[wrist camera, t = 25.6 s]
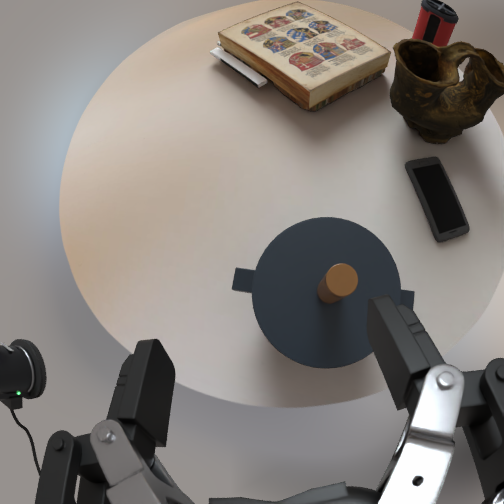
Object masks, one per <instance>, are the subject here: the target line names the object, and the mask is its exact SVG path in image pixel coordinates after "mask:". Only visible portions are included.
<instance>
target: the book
mask: <svg viewBox="0 0 504 504" xmlns="http://www.w3.org/2000/svg"><path fill="white" fill-rule="evenodd" d="M218 35H219V39H220V41H218V42H217V44H218V45H219V46H222V48H224V50H222V49H220V48H219V47H217V48H215V49H213V50H211V51H210V53H211V54H212V55H213V56H215V57H216V58H218V59H219V60H220V61H222V62H223V63H225V64H226V65H228V66H229V67H231V68H232V69H233V70H235V71H236V72H238V73H239V74H240V75H242V76H243V77H245V78H246V79H247V80H249V81H250V82H251V83H253V84H254V85H255V86H257V87H258V88H259V87H261V86H263V85H265V84H266V83H267V79H265V78H264V77H262V76H261V74H263V75H265V76H266V77H267V78H269V79H270V80H272V81H273V82H274V86H275V87H276V88H277V89H278V90H280V92H282V93H283V94H284V95H285V96H287V97H288V98H289V99H291V100H292V101H293V102H295V103H297V104H298V105H299V106H300V108H303V109H307V110H309V111H316V110H318V109H320V108H322V107H324V106H326V104H328V103H332V102H333V101H334V100H336V99H337V98H339V97H341V96H343V95H344V94H346V93H348V92H350V91H352V90H354V89H356V88H359V87H361V86H363V85H364V84H366V83H368V82H370V81H371V80H372V79H376V78H377V77H379V76H381V74H382V73H383V72H384V71H385V68H386V67H387V65H388V62H389V58H390V54H391V52H390V51H389V50H387V49H386V48H384V47H383V46H381V45H380V44H378V43H376V42H375V41H373V40H372V39H370V38H368V37H367V36H365V35H363V34H362V33H360V32H358V31H356V30H355V29H353V28H351V27H349V26H347V25H346V24H344V23H342V22H340V21H338V20H336V19H334V18H332V17H330V16H328V15H326V14H324V13H322V12H320V11H318V10H316V9H314V8H311V7H309V6H307V5H305V4H302V3H300V2H295V3H291V4H288V5H285V6H282V7H279V8H276V9H274V10H271V11H268V12H265V13H263V14H260V15H257V16H255V17H252V18H250V19H247V20H245V21H243V22H240V23H238V24H236V25H233V26H231V27H229V28H227V29H224V30H222V31H220V32H218Z"/></svg>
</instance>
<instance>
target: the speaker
mask: <svg viewBox="0 0 504 504" xmlns="http://www.w3.org/2000/svg"><path fill="white" fill-rule="evenodd" d="M457 22H458V16H457V14H456V12H455V11H454V10H453V9H452V8H451V7H449V6H448V5H446V4H444V3H443V2H441V1H438V0H423V1H422V3H421V10H420V14H419V17H418V20H417V24H416V27H415V31H414V34H413V37H412V39H416V38H417V39H420V40H423V41H427V42H429V43H432V44H433V45H435V46H437V47H442V46H447V44H448V42H449V39H450V37H451V34H452V32H453V29H454V27H455V24H456V23H457Z"/></svg>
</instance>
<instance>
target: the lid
mask: <svg viewBox="0 0 504 504" xmlns="http://www.w3.org/2000/svg"><path fill="white" fill-rule="evenodd" d="M385 294H388V295H390V297H391V298H392V300H393V301H394V303H395V305H396V306H398V305H400V301H401V283H400V278H399V273H398V270H397V267H396V264H395V262H394V260H393V258H392V256H391V254H390V252H389V251H388V249H387V248H386V247H385V245H384V244H383V243H382V242H381V241H380V240H379V239H378V238H377V237H376V236H375V235H374V234H373V233H371V232H370V231H369V230H367V229H366V228H364V227H362V226H360V225H359V224H356V223H354V222H351V221H348V220H344V219H341V218H333V217H320V218H313V219H309V220H305V221H302V222H299V223H297V224H294V225H293V226H291V227H289V228H287V229H286V230H284V231H283V232H282V233H280V234H279V235H278V236H277V237H276V238H275V239H274V240H273V241H272V242H271V243H270V244H269V245H268V247H267V248H266V249H265V251H264V253H263V254H262V256H261V258H260V260H259V262H258V264H257V267H256V270H255V273H254V277H253V284H252V302H253V308H254V312H255V316H256V319H257V321H258V324H259V326H260V328H261V330H262V332H263V333H264V335H265V336H266V338H267V339H268V340H269V342H270V343H271V344H272V345H273V346H274V347H275V348H276V349H277V350H278V351H279V352H281V353H282V354H283V355H285V356H286V357H288V358H290V359H291V360H293V361H295V362H298V363H300V364H303V365H306V366H310V367H315V368H337V367H342V366H346V365H349V364H352V363H355V362H357V361H359V360H361V359H363V358H365V357H366V356H368V355H369V354H371V353H372V352H373V350H372V347H371V345H370V343H369V340H368V336H367V311H368V300H369V299H370V298H374V297H378V296H382V295H385Z"/></svg>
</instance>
